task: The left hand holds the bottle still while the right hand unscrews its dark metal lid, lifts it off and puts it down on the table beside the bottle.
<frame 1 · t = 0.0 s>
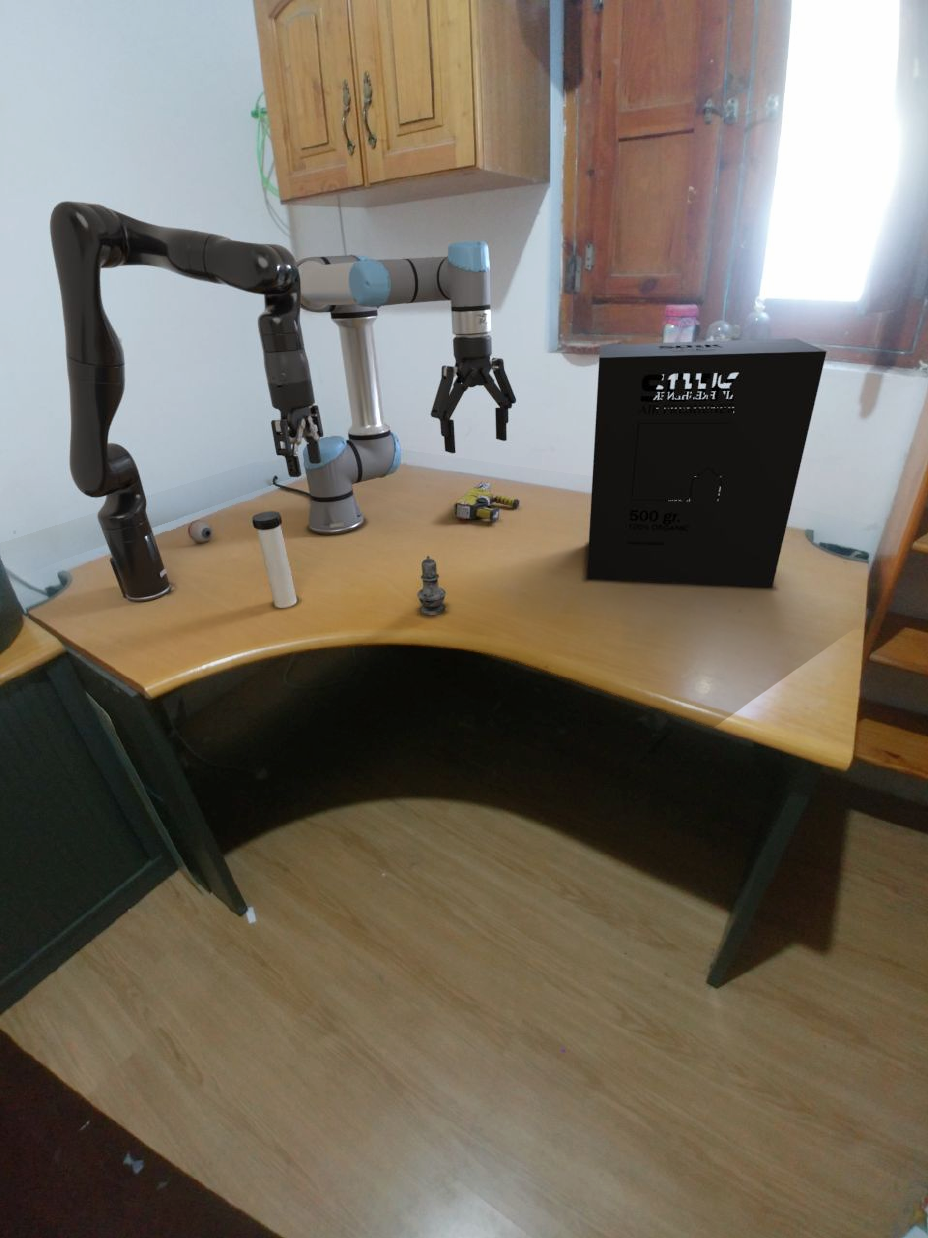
left hand: (305, 469, 113), 29 cm above the table, tool pointing down, fingers open, 8 cm apart
right hand: (476, 445, 127), 28 cm above the table, tool pointing down, fingers open, 13 cm apart
eyeball: (203, 542, 163), on the table
cardboard box: (672, 564, 137), on the table
lid: (266, 517, 121), point 19 cm above the table, screwed on, not yet turned
salt shaker: (432, 609, 124), on the table
toy gun: (491, 509, 174), on the table
bottle: (285, 602, 130), on the table
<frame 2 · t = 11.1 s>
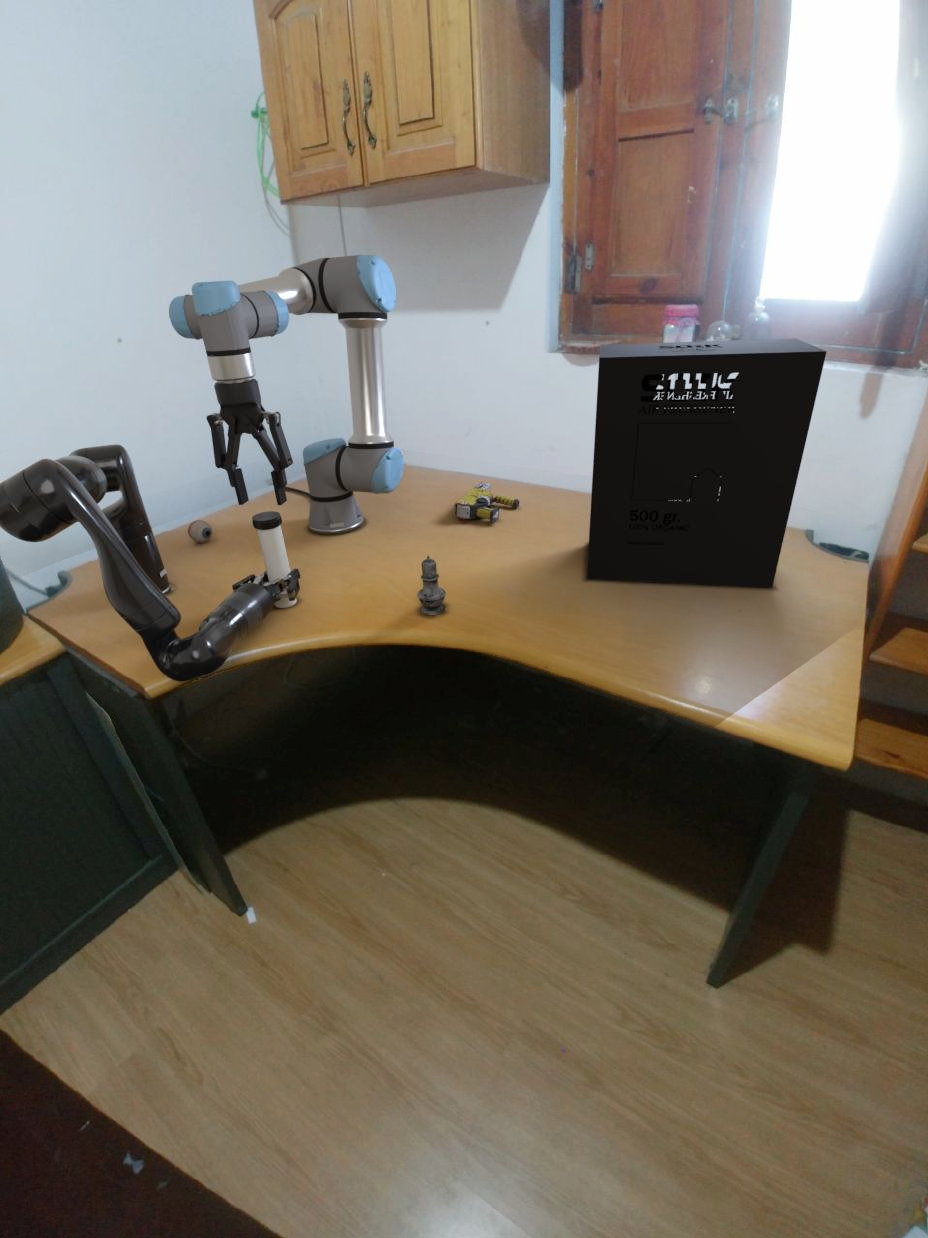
left hand: (285, 571, 129), 6 cm above the table, tool horizontal, fingers closed on bottle, 4 cm apart
right hand: (263, 502, 119), 23 cm above the table, tool pointing down, fingers open, 7 cm apart
bottle: (285, 602, 130), on the table, touching left hand
everything else where it was.
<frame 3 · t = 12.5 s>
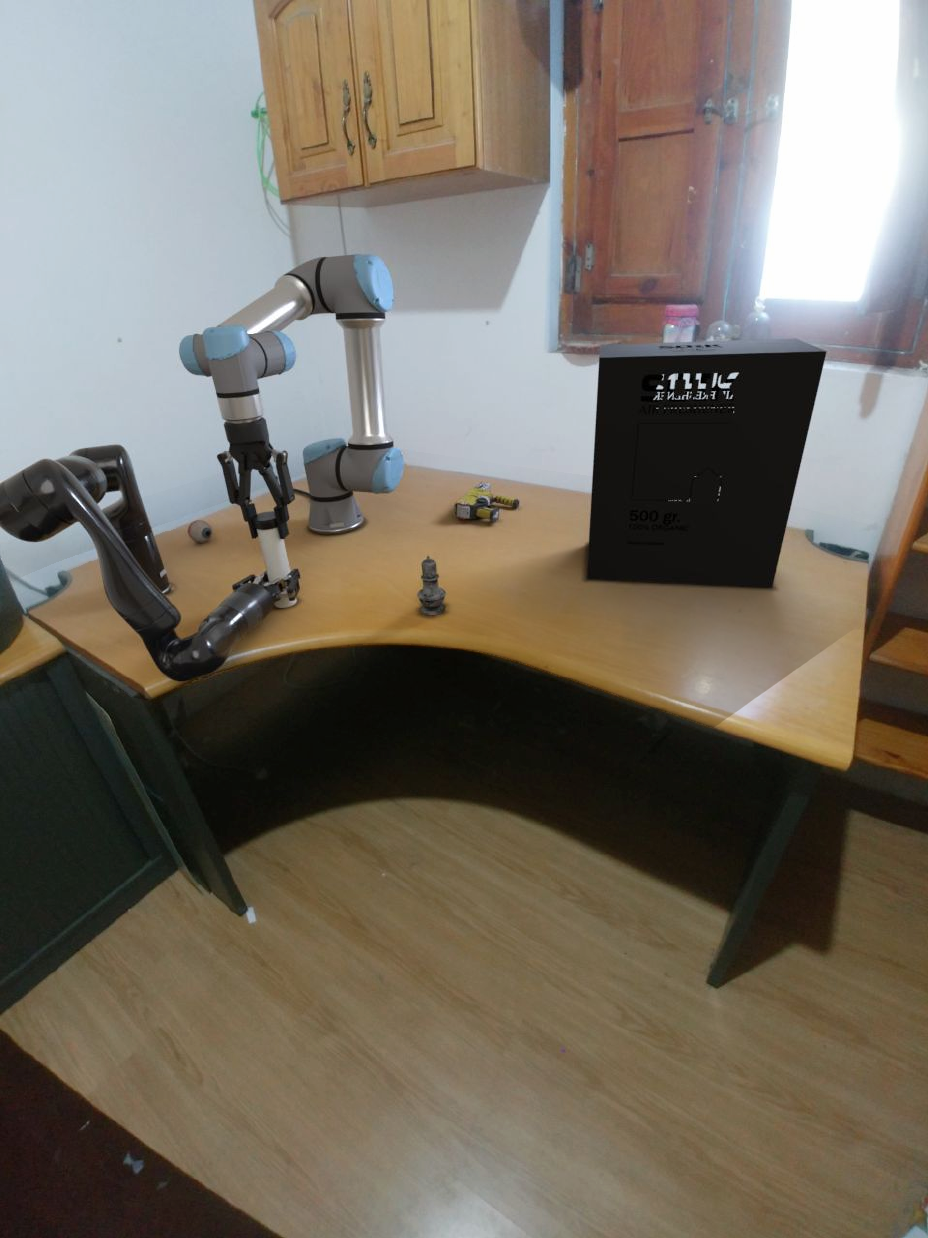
left hand: (285, 571, 129), 6 cm above the table, tool horizontal, fingers closed on bottle, 4 cm apart
right hand: (270, 536, 123), 15 cm above the table, tool pointing down, fingers closed on lid, 5 cm apart
lid: (266, 517, 121), point 19 cm above the table, screwed on, not yet turned, touching right hand
bottle: (285, 602, 130), on the table, touching left hand
everything else where it was.
when the right hand's fingers open (0 cm above the table, at t = 21.0 s): lid drops 3 cm, point 2 cm above the table.
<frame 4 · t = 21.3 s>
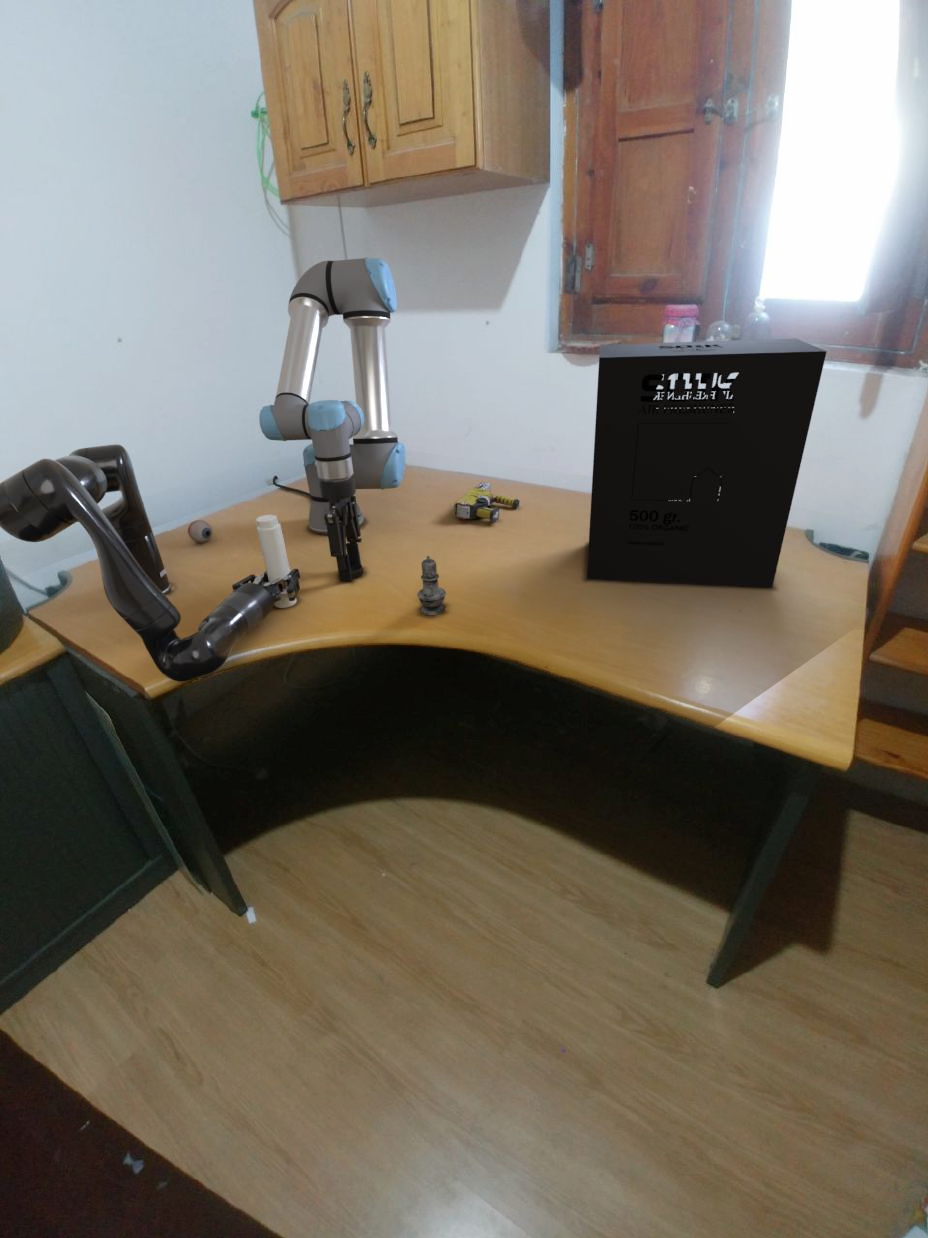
left hand: (285, 571, 129), 6 cm above the table, tool horizontal, fingers closed on bottle, 4 cm apart
right hand: (350, 574, 141), 0 cm above the table, tool pointing down, fingers open, 6 cm apart
lid: (350, 568, 140), point 2 cm above the table, off its thread, touching right hand
bottle: (285, 602, 130), on the table, touching left hand
everything else where it was.
when the left hand's fingers open (6 cm above the table, at t = 22.7 s): bottle stays where it is, on the table.
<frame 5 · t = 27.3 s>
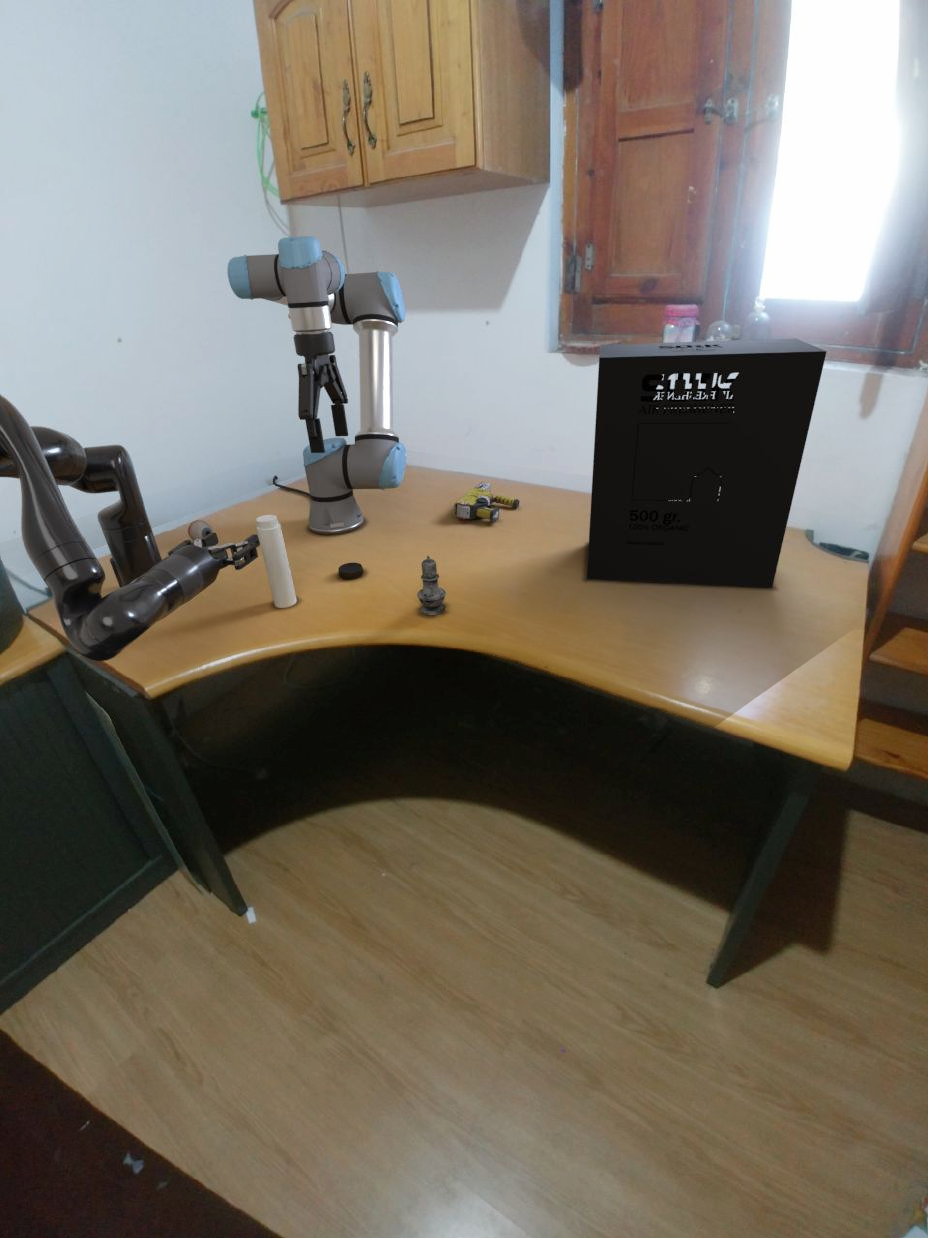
left hand: (236, 538, 111), 20 cm above the table, tool horizontal, fingers open, 8 cm apart
right hand: (330, 443, 126), 30 cm above the table, tool pointing down, fingers open, 13 cm apart
lid: (350, 568, 140), point 2 cm above the table, off its thread
bottle: (285, 602, 130), on the table
everything else where it was.
at the end: lid came off its thread; lid point 1.5 cm above the table; the left hand is holding nothing; the right hand is holding nothing; bottle tilted 0°; bottle moved 0.0 cm from its start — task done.
